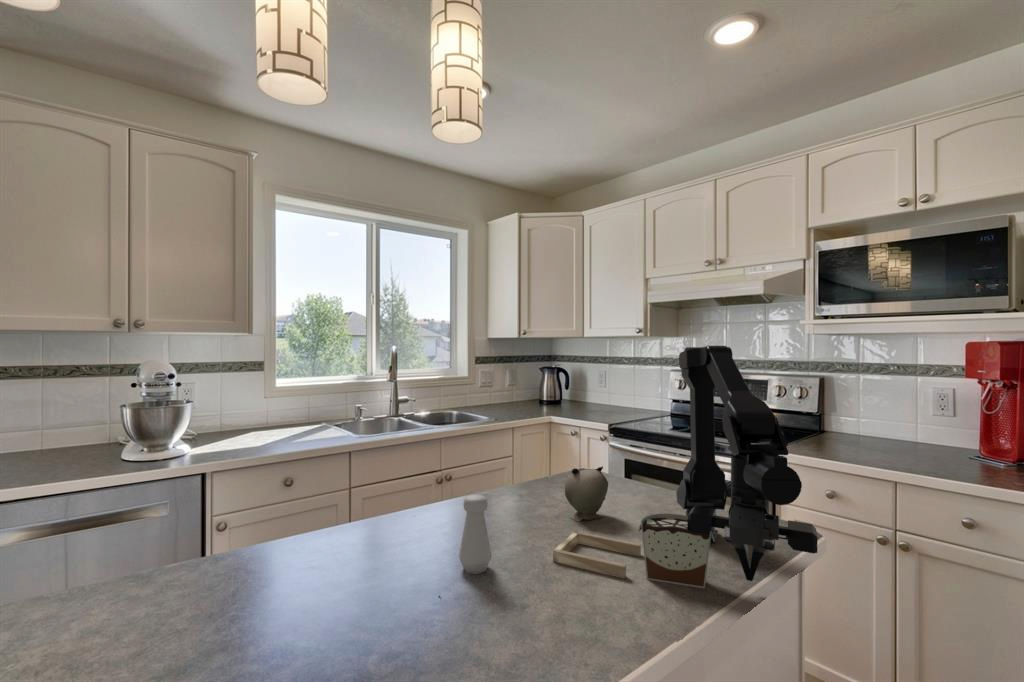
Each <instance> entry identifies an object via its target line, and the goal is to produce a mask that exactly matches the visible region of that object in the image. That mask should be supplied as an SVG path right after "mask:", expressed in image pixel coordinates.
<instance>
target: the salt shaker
mask: <svg viewBox="0 0 1024 682" xmlns="http://www.w3.org/2000/svg"><path fill="white" fill-rule="evenodd" d="M462 506H463V509H464V511H466V514H465V518H464V525H463V530H462V536H461V541H460V548H459V553H458V554H459V555H458V558H459V561H460V564H461V565H462V568H463V570H464V571H465V572H466V573H467V574H473V575H478V574H482V573H485V572H486V571H487V569H488V566H489V563H490V561H491V559H492V549H491V545H490V540H489V535H488V534H489V533H488V529H487V523H486V517H485V511H487V509H488V498H487V497H486V496H485V495H481V494H471V495H468V496H466V497H465V498H464V499H463V505H462Z"/></svg>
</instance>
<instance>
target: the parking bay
mask: <svg viewBox="0 0 1024 682" xmlns="http://www.w3.org/2000/svg"><path fill="white" fill-rule="evenodd" d="M578 544H579V545H583V546H587V547H594V548H597V549H601V550H602V549H603V550H607V551H610V552H611V551H612V552H617V553H621V554H625V555H631V556H634V557H641V555H642V545H641V543H637V542H630V541H626V540H621V539H617V538H613V537H611V538H610V537H606V536H602V535H596V534H591V533H587V532H582V531H578V530H575V531H573V532H572V533H571V534H569V536H568V537H566V539H564V540H563V541H562V542H561V543H560V544H559V545H558V546H556V547H555V549H553V550H552V562H553V563H558V564H561V565H566V566H570V567H574V568H578V569H583V570H587V571H592V572H596V573H599V574H604V575H608V576H611V577H612V576H613V577H615V576H616V577H615V578H620V579H626V578H627V564H624V563H620V562H615V561H610V560H608V559H607V560H606V559H601V558H597V557H593V556H590V555H589V556H588V555H583V554H581V553H575V552H571V551H572V550H573V549H574V548H575V547H576V546H577V545H578Z"/></svg>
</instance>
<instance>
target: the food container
mask: <svg viewBox="0 0 1024 682" xmlns="http://www.w3.org/2000/svg"><path fill="white" fill-rule="evenodd" d="M687 520H688V516H686V514H685V515H684V514H678V513H663V512H662V513H653V514H649V515H646V516H644V517H643V518H642V519H641V521H640V523H639V526H638V530H637V533H640V531H641V537H642V546H643V554H644V555H643V557H644V564H645V565H644V566H645V575H646V580H648V581H649V580H650V581H654V582H660V583H666V584H667V583H668V584H674V585H679V586H687V587H693V588H699V589H706V581H707V575H708V574H707V573H708V565H709V555H710V548H711V542H710V540H711V538H712V539H713V541H714V536H713V532H712V531H710V532H709V533H708V534H702V533H697V532H691V531H689V530H687ZM714 542H715V543H716V541H714Z"/></svg>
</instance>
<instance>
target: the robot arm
mask: <svg viewBox="0 0 1024 682" xmlns="http://www.w3.org/2000/svg"><path fill="white" fill-rule="evenodd" d="M678 366H679V369H680V370H681V377H682V379H683V380H684V382H685V383H686V386H687V387H688V389H689V402H690V403H689V408H690V410H689V411H690V413H689V414H690V418H689V419H690V459H689V460H688V462H687V463H686V465H685V467H684V468H683V470H682V471H683V474H682V475H683V476H682V479H681V481H680V483H679V485H678V488H677V490H676V493H675V494H676V502H677V504H678V506H680V507H681V508H682V509H683V510H685V516H688V520H687V530H689V531H691V532H697V533H702V534H708V533H709V532H710V531H712V532H713V536H714V541H715V542H714V541H713V539H712V538H711V540H710V544H711V543H713V544H715V543H716V540H717V538H718V535H719V530H717V529H721V530H722V529H723V530H724V533H725V534H724V537H723V540H724V542H725V543H727V544H730V545H732V548H733V549H734V550H735V552H736V554H737V557H738V559H739V562H740V565H741V568H742V571H743V574H744V576H745V577H744V578H745V580H746V581H750V582H753V579H754V578H755V575H756V572H757V569H758V567H759V564H760V562H761V560H762V558H763V556H764V555H765V553H766V552H767V551H775V546H776V541H779V539H780V540H785V541H787V545H789V547H790V548H791V549H792V550H793V551H797V552H798V551H799V552H803V553H808V554H817V553H818V534H817V527H816V526H814V525H813V523H808V522H802V521H795V520H789V519H788V520H787V526H782V525H780V516H779V515H776V514H770V503H771V504H774V505H778V506H785V505H789V504H791V503H793V502H794V501H795V500H797V499H798V498H799V496H800V494H801V492H802V488H803V487H802V486H803V485H802V480H801V478H800V475H799V474H798V472H797V471H795V470H794V469H793V468H792V467H791V466H788V458H787V456H788V455H789V450H788V441H787V438H786V436H785V435H784V432H783V430H782V428H781V426H780V423H779V421H778V418H777V417H776V415H775V413H774V412H773V411H772V409H771V408H770V407H769V405H768V404H767V403H766V402H765V401H764V400H762V399H761V398H759V397H757V396H754V395H753V393H752V392H751V390H750V388H749V387H748V384H747V382H746V380H745V379H744V377H743V375H742V373H741V371H740V369H739V368H738V366H737V364H736V362H735V360H734V359H733V350H732V348H731V347H730V346H727V345H705V346H702V347H699V346H695V347H694V346H692V347H691V346H690V347H689V346H686V347H685V349H684V350H683V351H681V352H680V353H679V355H678ZM715 389H716V391H717V393H718V396H719V398H720V401H721V402H722V405H723V407H724V408H723V409H724V412H723V416H722V419H721V422H722V429H723V430H722V431H723V433H724V436H725V438H726V440H727V442H728V448H727V449H728V451H729V452H730V505H729V508H728V517H727V516H720V515H717V510H722V511H724V510H725V508H726V503H727V498H728V492H729V491H728V490H729V489H728V488H729V487H728V486H727V483H726V474H725V472H724V470H722V469H721V468H720V466H719V464H718V462H717V461H716V439H715V438H716V434H715V433H716V431H715V429H716V428H715V394H714V393H715V392H714V390H715ZM715 528H716V529H715ZM748 546H751V547H753V548H752V552H751V553H752V555H751V558H750V557H749V556H750V555H749V548H748ZM750 559H751V560H750Z"/></svg>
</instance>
